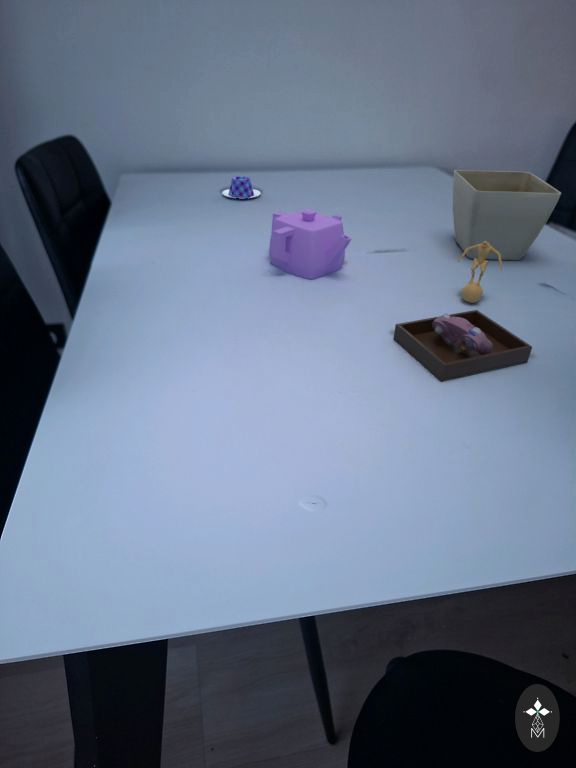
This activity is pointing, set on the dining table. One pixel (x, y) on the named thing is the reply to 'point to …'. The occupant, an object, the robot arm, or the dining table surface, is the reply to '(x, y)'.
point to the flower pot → (500, 210)
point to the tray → (451, 359)
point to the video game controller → (462, 334)
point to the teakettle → (307, 243)
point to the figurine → (474, 290)
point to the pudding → (241, 188)
